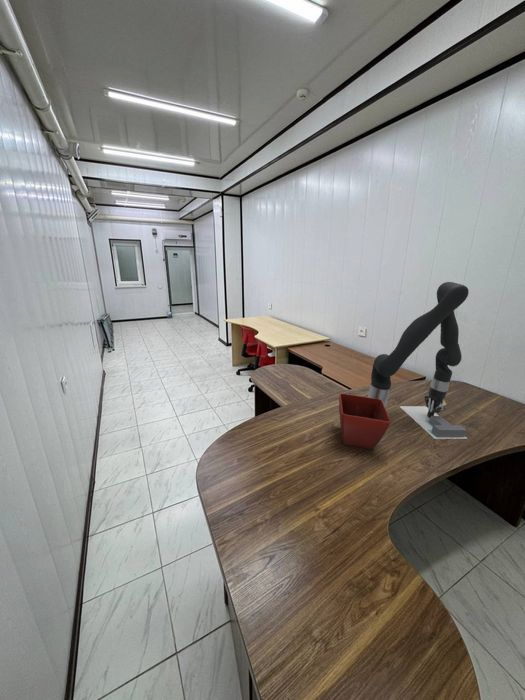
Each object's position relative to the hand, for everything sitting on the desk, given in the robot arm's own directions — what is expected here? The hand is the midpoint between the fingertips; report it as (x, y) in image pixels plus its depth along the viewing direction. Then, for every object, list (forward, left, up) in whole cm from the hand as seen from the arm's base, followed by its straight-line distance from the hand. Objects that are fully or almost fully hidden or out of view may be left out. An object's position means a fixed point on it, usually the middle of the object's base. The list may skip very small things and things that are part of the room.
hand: (429, 417), depth 144 cm
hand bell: (+19, +18, -2) cm, 26 cm away
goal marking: (0, -8, -2) cm, 8 cm away
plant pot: (-47, -15, -2) cm, 49 cm away
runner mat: (0, -2, -2) cm, 2 cm away
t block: (0, -9, -1) cm, 9 cm away
